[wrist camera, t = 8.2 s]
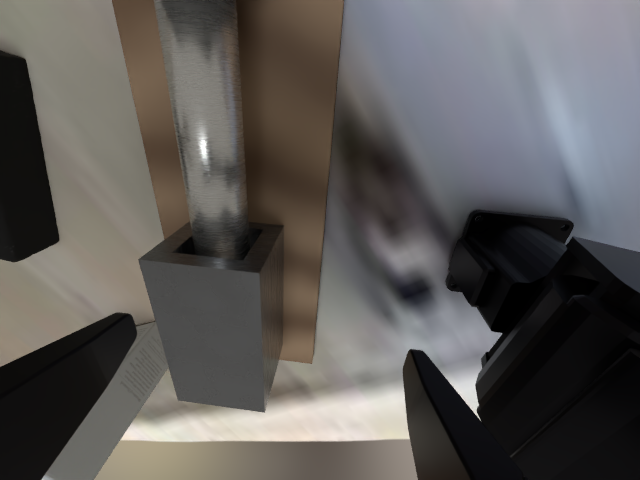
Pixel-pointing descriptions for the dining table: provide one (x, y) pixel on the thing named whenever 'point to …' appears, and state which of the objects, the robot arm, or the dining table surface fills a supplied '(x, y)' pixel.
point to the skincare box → (113, 409)
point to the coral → (22, 168)
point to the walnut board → (257, 132)
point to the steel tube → (208, 119)
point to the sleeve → (219, 317)
